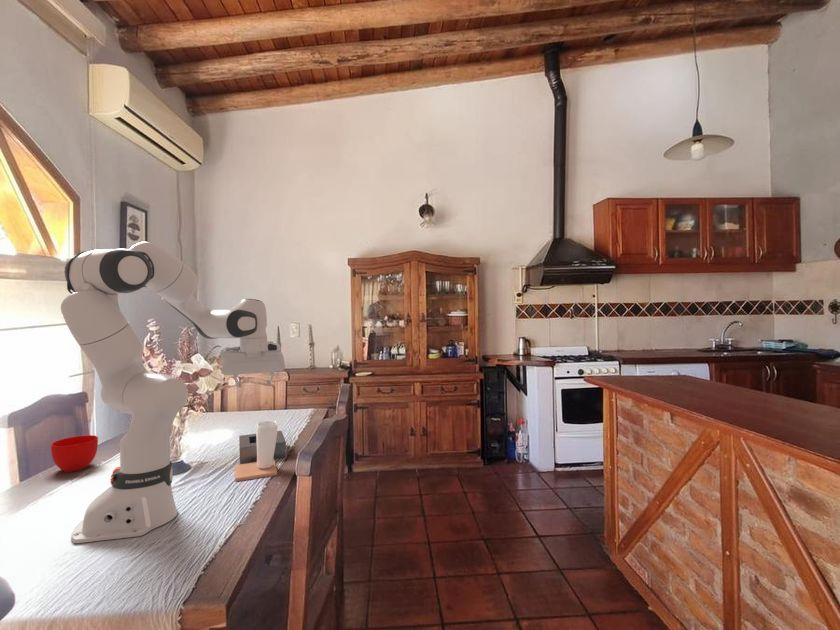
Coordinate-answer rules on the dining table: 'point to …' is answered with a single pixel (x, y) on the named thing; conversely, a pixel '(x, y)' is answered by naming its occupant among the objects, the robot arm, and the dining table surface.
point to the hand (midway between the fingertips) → (254, 386)
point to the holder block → (250, 447)
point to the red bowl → (74, 452)
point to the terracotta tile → (253, 471)
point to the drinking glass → (266, 443)
